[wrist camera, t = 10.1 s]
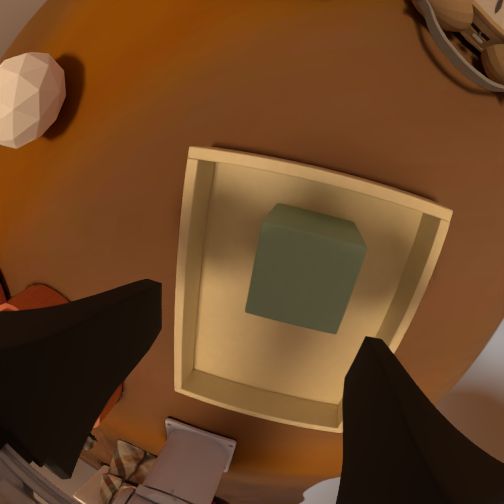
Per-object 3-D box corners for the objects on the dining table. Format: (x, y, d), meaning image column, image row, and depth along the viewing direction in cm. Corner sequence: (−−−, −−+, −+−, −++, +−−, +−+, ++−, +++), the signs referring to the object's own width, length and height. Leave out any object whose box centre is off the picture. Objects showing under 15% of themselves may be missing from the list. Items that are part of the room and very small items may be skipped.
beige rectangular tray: (341, 405, 20) (341, 433, 17) (188, 367, 22) (174, 391, 19) (431, 200, 13) (453, 210, 11) (210, 146, 15) (188, 146, 13)
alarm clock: (563, 24, 2) (559, 141, 6) (533, 39, 7) (505, 148, 10) (451, -81, 2) (384, -37, 5) (433, -51, 7) (362, 16, 10)
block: (333, 291, 16) (336, 335, 12) (261, 274, 17) (244, 313, 13) (354, 221, 15) (368, 247, 10) (276, 202, 15) (261, 221, 11)
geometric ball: (79, 79, 18) (57, 17, 10) (74, 147, 17) (33, 84, 9) (14, 107, 16) (-20, 58, 9) (3, 177, 15) (-50, 134, 8)
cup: (93, 459, 44) (68, 493, 32) (104, 458, 40) (77, 498, 28) (125, 482, 45) (104, 517, 33) (141, 483, 41) (118, 523, 29)
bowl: (131, 420, 28) (113, 447, 24) (43, 366, 31) (24, 384, 26) (111, 317, 22) (76, 348, 17) (13, 266, 24) (-16, 282, 20)
